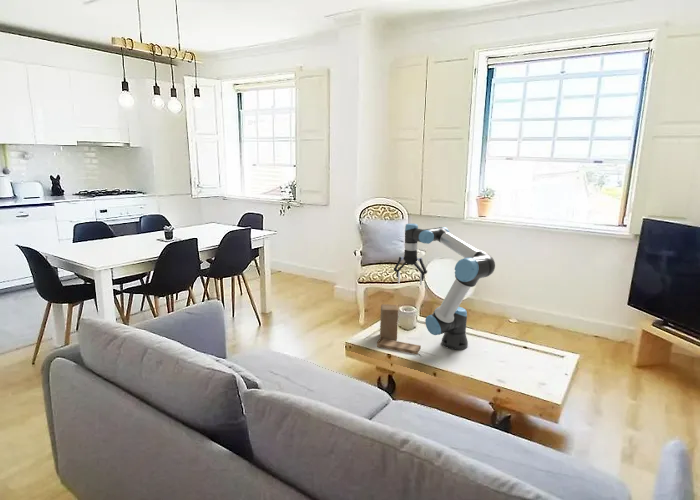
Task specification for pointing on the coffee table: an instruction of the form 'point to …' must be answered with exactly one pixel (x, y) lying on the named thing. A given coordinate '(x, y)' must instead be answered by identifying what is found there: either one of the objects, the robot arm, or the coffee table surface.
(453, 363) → the coffee table surface
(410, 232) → the robot arm
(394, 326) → the wooden block
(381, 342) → the plank
